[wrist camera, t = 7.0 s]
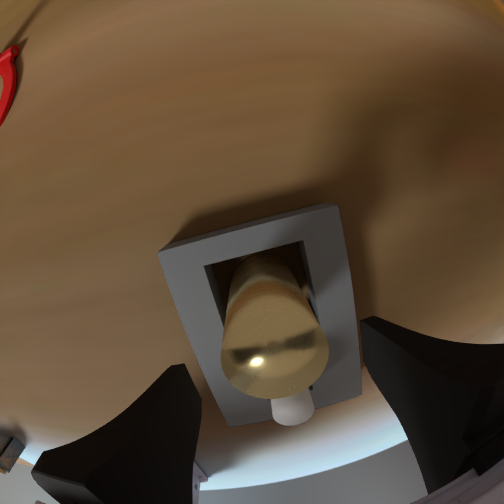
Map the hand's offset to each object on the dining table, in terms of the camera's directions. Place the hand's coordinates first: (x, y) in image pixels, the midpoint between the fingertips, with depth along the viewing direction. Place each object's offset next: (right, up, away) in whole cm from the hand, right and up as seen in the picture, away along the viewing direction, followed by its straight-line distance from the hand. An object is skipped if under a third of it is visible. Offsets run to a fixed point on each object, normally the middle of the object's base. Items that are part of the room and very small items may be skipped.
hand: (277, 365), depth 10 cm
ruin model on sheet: (-45, -30, +16) cm, 56 cm away
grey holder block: (+1, -1, +10) cm, 10 cm away
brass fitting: (0, +2, +9) cm, 9 cm away
